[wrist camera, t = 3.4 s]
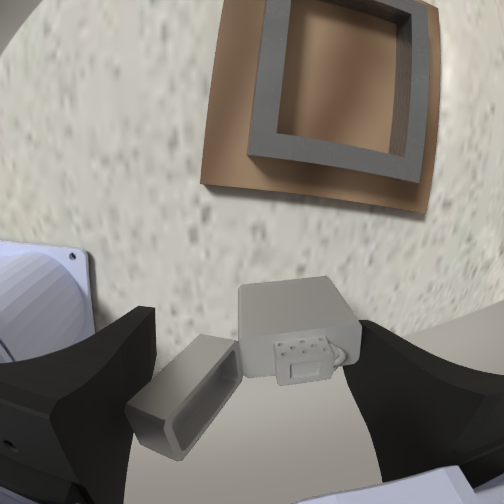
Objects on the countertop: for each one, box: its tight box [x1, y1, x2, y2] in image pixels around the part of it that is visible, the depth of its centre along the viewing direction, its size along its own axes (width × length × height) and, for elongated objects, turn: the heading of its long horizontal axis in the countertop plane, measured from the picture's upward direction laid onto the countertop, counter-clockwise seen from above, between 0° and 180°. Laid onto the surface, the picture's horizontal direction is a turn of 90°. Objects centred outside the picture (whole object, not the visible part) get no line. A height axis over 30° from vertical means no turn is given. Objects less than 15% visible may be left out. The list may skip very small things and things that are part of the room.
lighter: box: [124, 276, 362, 461], centre depth 11 cm, size 7×2×8 cm, turn 95°
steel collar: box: [246, 0, 429, 183], centre depth 14 cm, size 9×11×2 cm
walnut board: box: [200, 0, 440, 214], centre depth 16 cm, size 14×15×1 cm
